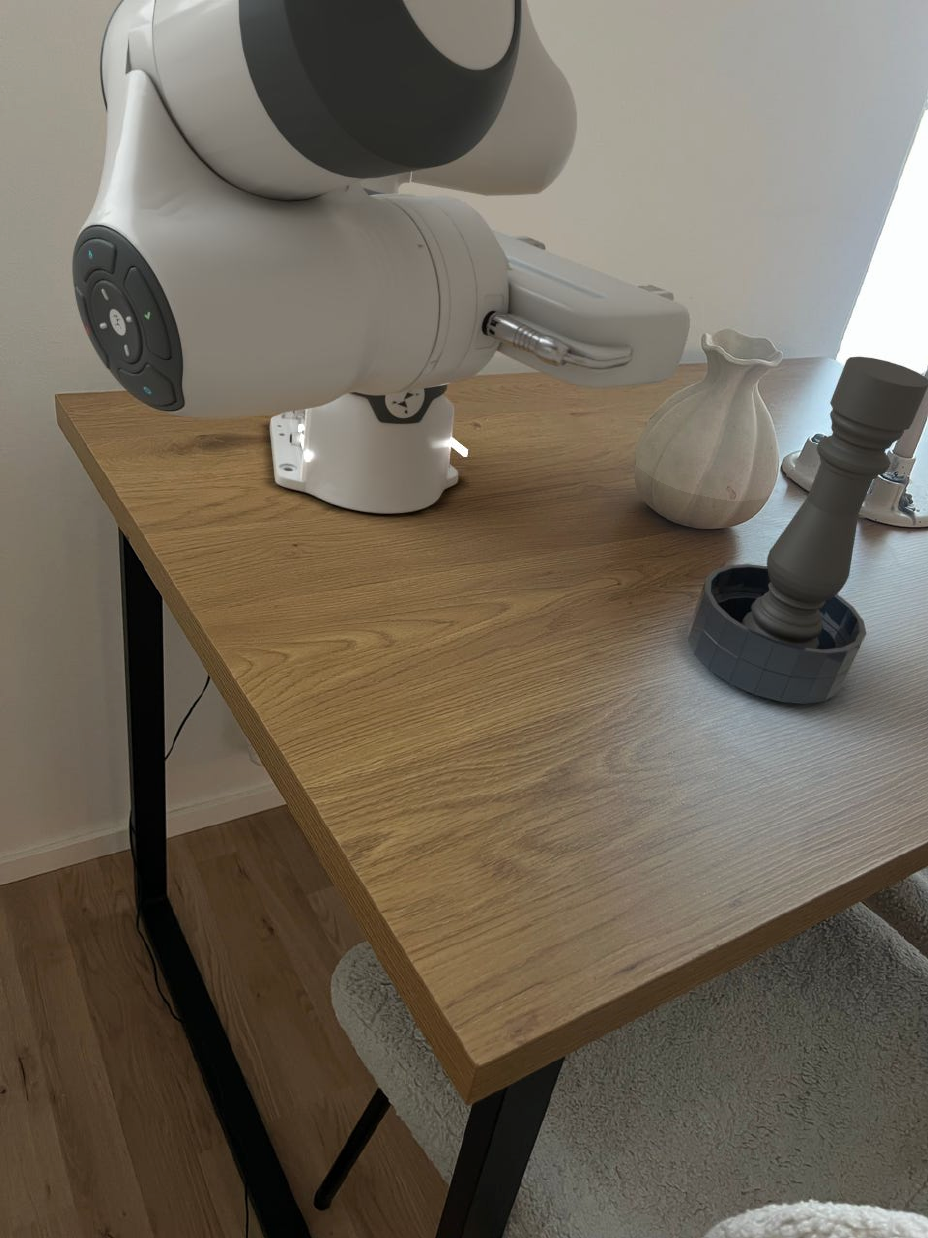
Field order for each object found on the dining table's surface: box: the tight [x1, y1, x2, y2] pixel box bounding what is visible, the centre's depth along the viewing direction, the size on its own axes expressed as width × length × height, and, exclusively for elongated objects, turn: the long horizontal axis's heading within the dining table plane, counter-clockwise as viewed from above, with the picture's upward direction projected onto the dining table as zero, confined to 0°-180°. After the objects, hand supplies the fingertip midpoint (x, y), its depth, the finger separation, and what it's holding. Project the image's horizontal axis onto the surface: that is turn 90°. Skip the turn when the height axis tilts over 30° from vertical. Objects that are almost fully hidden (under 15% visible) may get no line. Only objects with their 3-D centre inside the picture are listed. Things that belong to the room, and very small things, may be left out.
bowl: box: [687, 563, 867, 705], centre depth 83 cm, size 13×13×6 cm
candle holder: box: [741, 356, 928, 649], centre depth 76 cm, size 6×6×25 cm
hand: (595, 278), depth 58 cm, fingers open, 8 cm apart
